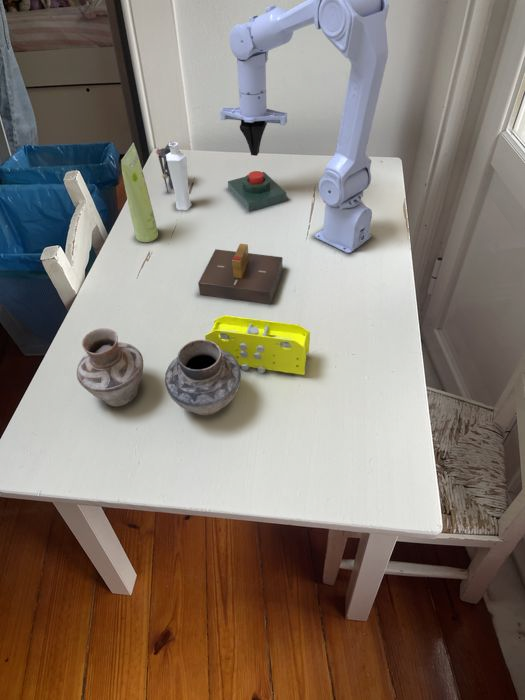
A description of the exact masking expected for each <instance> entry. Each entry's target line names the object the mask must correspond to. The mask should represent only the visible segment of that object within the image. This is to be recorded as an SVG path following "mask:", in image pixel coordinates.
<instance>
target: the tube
mask: <svg viewBox="0 0 525 700" xmlns="http://www.w3.org/2000/svg"><path fill="white" fill-rule="evenodd" d="M120 165H121V167H120V168H121V173H122V180H123V184H124V185H123V186H124V189H125V194H126V200H127V203H128V204H127V205H128V209H129V214H130V218H131V222H132V226H133V230H134V235H135V238H136V240H137V241H138V242H141V243H151V242H153V241H155V240H156V239H157V238H158V236H159V231H158V226H157V222H156V218H155V214H154V209H153V206H152V201H151V198H150V194H149V189H148V185H147V182H146V178H145V175H144V171H143V167H142V164H141V161H140V157H139V154H138V151H137V148H136V146H135V142H132V144H131V145H130V147H129V149H128V150H127V151H126V153H125V154H124V156H123V157H122V159H121V160H120Z"/></svg>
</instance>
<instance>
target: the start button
mask: <svg viewBox="0 0 525 700" xmlns="http://www.w3.org/2000/svg"><path fill="white" fill-rule="evenodd" d="M262 172H263V171H259V170H253V171H250V172H249V173H248V174H247V175H248V177H249V183H251V184H261V183H263V182H264V174H263V173H262Z"/></svg>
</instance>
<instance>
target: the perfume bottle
mask: <svg viewBox="0 0 525 700" xmlns="http://www.w3.org/2000/svg"><path fill="white" fill-rule="evenodd" d="M170 142H171V143H170ZM170 142H169V143H168V144H169V146H170V153H168V154H166V159H167V163H168V168H169V172H170V176H171V180H172V184H173V188H174V189H173V191H174V195H175V207H176V210H178V211H187V210H189V209H190V208H191V207H192V202H191V200H190V192H189V177H188V164H187V155H186V154H185V153H182V152H181V151H180V150H179V143H178V142H176V141H170ZM179 151H180V152H179Z"/></svg>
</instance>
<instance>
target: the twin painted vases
mask: <svg viewBox="0 0 525 700" xmlns="http://www.w3.org/2000/svg"><path fill="white" fill-rule="evenodd" d="M118 338H119V337H118V334H117V332H116V331H114V330H113V329H111V328H105V327H101V328H96V329H93V330H91V331H89V332H88V333H87V334H86V335H85V336H84V337H83V338H82V341H81V347H82V349H83V350H84V352H85V355H84V356H82V358H81V359H80V361H79V363H78V364H77V368H76V377H77V381H78V383H79V385H81V386H82V387H83V389H85V390H86V391H87V392H88V393H90V394H91V395H93V396H94V397H96V398H97V399H99V400H103V402H104V403H105V404H107V405H108V406H112V407H122V406H125V405H127V404H130V402H132V401H133V400H134V399H135V397H136V396H137V395H138V392H139V385H140V383H141V380H142V377H143V372H144V358H143V355H142V353H141V352H140V350H139V349H138V348H136V346H134V345H132V344H130V343H126V342H121V341H120V342H119V341H118ZM241 380H242V368H241V366H240V365H239V363H238V361H237V360H236V359H235V358H234V357H233V356H232V355H231V354H230V353H228V352H226V351H224V350H221V349H220V348H219V346H218V345H217V344H216V343H214V342H212V341H209V340H206V339H195V340H191V341H189V342H187V343H186V344H184V345H183V346H182V347H181V348H180V349H179V351H178V352H177V357H175V358H174V359H173V360H172V361H171V362H170V363H169V364H168V366H167V369H166V371H165V375H164V384H165V388H166V391H167V392H168V395H169V397H170V398H171V400H173V402H174V403H176V404H177V405H178V406H179V407H180V408H182V409H184V410H185V411H188V412H191V413H195V414H196V415H199V416H200V415H201V416H210V415H214V414H217V413H218V412H220V411H221V410H222V409H223V408H225V407H226V406H227V405H229V404H230V403H231V402H232V401H233V399H234V398H235V396H236V395H237V393H238V390H239V388H240V384H241Z"/></svg>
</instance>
